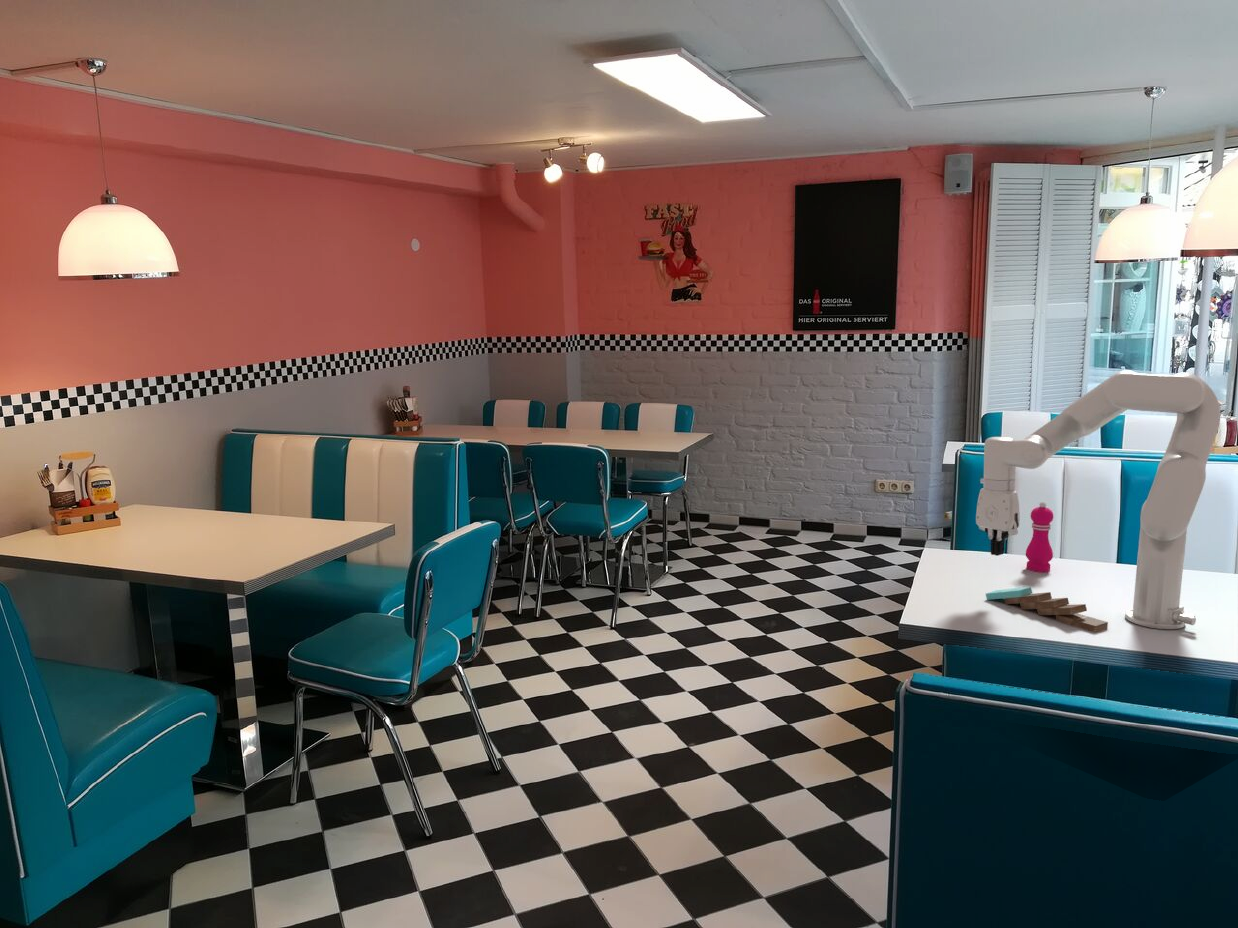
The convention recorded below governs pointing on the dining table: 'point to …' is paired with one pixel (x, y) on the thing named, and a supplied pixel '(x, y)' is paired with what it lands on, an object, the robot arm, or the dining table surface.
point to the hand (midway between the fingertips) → (997, 554)
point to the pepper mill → (1040, 540)
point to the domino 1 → (1009, 593)
